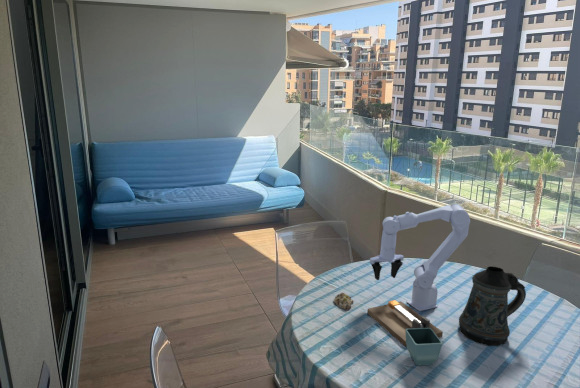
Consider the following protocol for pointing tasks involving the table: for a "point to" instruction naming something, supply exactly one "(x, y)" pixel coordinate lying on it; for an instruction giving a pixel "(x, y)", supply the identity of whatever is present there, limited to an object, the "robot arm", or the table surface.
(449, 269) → the table surface
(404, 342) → the base
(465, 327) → the beer stein
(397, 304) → the press lever
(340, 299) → the mineral rock
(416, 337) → the flower pot
